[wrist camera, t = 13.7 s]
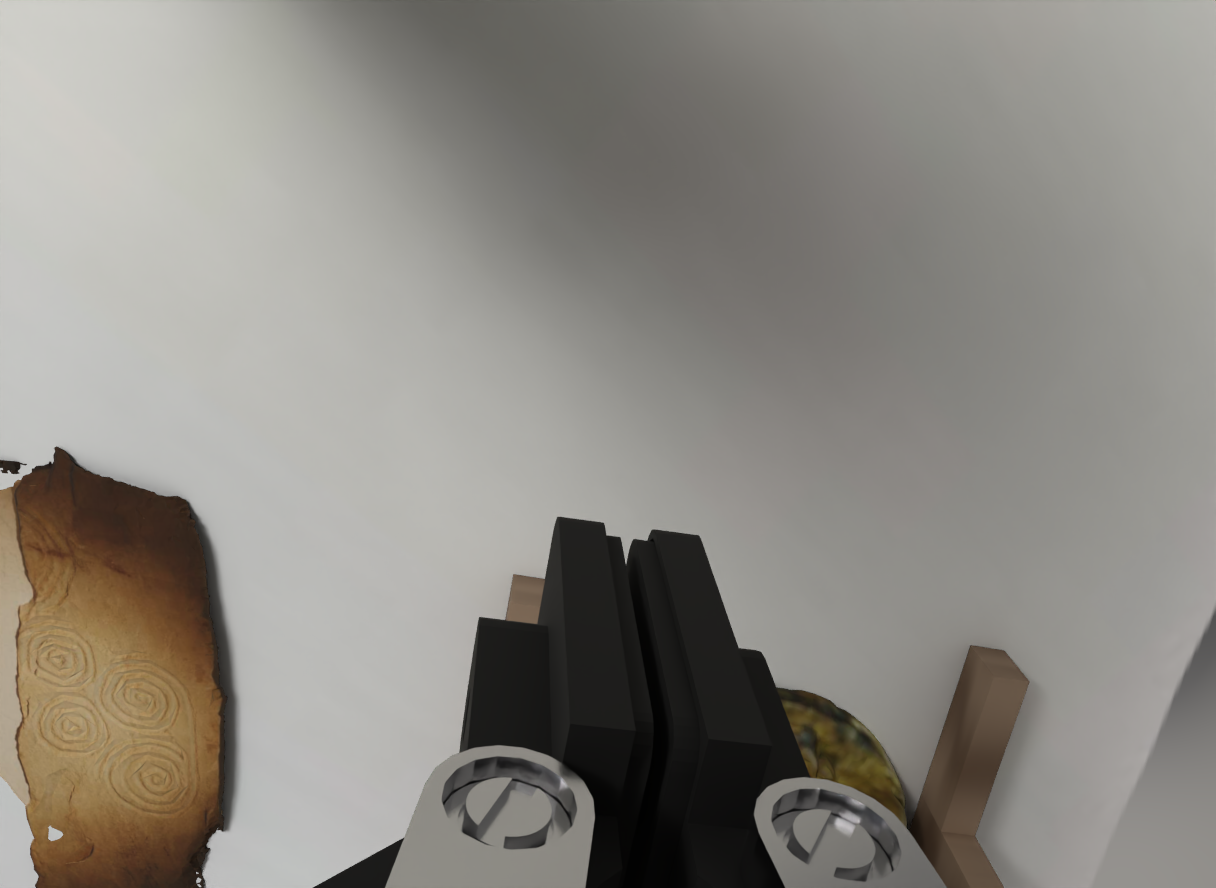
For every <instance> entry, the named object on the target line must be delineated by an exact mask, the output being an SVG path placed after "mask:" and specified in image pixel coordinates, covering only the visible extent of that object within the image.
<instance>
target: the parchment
mask: <svg viewBox="0 0 1216 888" xmlns="http://www.w3.org/2000/svg"><path fill="white" fill-rule="evenodd" d="M20 464H22V463H20V462H15V461H4V460H0V468H3V470H1V471H2V473H8V472H7V470H12V471H10V472H11V473H12V474H20V473H19V472H18V470H19V469H20ZM22 465H27V464H22ZM190 516H191V515H190V510H189V507H188V505H187V502H186V500H185V499H182V498H180V497H178V496H171V497H165V496H162V495H157V494H155V493H154V492H151V491H148V490H145V489H141V488H138V487H135V486H132V487H131V485H128V484H126V483H123V482H117V481H114V480H113V479H112V478H110V477H101V476H100V475H95V474H92V473H91V472H89V471H85V470H84V469H83V468H81V467H78V466H76V465H75V463H74V462H73V461H72V460H70V457H69V455H68V454H67V453H66V452H65V451H64V450H62V449H60V448H59V447H55V453H54V462H53V464H51V462H49V464H47V465H45V466H36V467H35V468H34V469H32V473H30V474H28V475H25V476H23V478H22V480H17V481H16V482H15V483H14V487H9V488H7V489H3V490H0V776H1V777H2V778H3V779H4V780H5V781H6V782H7V783H8V785H9V786H10V787H11V789H12V790H13V792H14V793H15V794H16V795H17V797H18V798H19V799H20V800H21V801H22V802H23V803H24V804H25V808H26V815H27V820H28V823H29V826H30V828H31V831H32V834H33V836H34V838H35V839H33V841H32V843H31V847H30V855H31V858H32V860H33V863H34V870H35V871H36V873H37V874H38V876H39V878H38V881H37V883H36V885H35V887H36V888H200V887H199V886H198V885H197V884H200V885H201V886H202V887H201V888H203V877H202V876H201V874H202V871H201V868H200V866H201V865H202V864H203V861H204V859H205V854H206V852H207V851H209V849H210V848H207V847H206V844H207V843H208V839H209V838H210V837H211V836H212V834H214V833H215V832H216V830H221V831H223V829H222V828H223V824H224V822H223V820H224V818H223V815H222V813H223V811H222V809H221V803H222V795H223V793H224V758H225V756H224V747H225V740H224V722H225V721H224V710H225V704H226V701H227V696H225V694H224V691H223V689H222V687H220V685H219V673H220V672H219V666H218V665H219V664H218V646H217V643H216V639H215V633H214V630H213V629H214V628H213V622H212V620H211V618H210V615H209V614H210V610H209V607H210V603H209V597H210V596H209V595H208V588H207V582H206V581H207V579H206V573H207V571H206V567H205V566H206V564H205V559H204V557H203V549H202V545H201V544H200V540H199V535H198V534H197V532H196V529H195V528H194V526H195V523H196V522H195V520H194V519H193V520H192V519H191V517H190ZM50 825H51V827H52V828H55V829H57V830H60V831H62V833H63V836H62V837H61V838H60V839H58V840H55V841H50V840H49V839H48V832H49V829H48V827H49V826H50ZM218 827H219V828H218ZM217 828H218V829H217ZM196 872H198V873H199V874H196ZM198 877H199V878H201V879H202V880H201V882H200V883H197V884H196V880H197V878H198Z"/></svg>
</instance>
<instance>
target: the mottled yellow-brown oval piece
mask: <svg viewBox="0 0 1216 888" xmlns="http://www.w3.org/2000/svg"><path fill="white" fill-rule="evenodd" d="M776 689H777V691H778V694H779V696H780V699H781V702H782V704H783V707H784V709H785V712H786V715H787V717H788V720H789V722H790V725H791V728H792V730H793V733H794V736H795V738H796V741H797V743H798V746H799V749H800V751H801V754H802V756H803V759H804V762H805V764H806V767H807V769H808V772H809V775H810V777H811V778H816V779H825V780H829V781H833V782H836V783H839V784H842V785H846V786H849V787H852V788H854V789H856V790H858V791H860V792H862V793H864V794H866V795H868V796H870V797H871V798H873V799H875V800H876V801H878V802H879V803H880V804H882V805H883V806H884V807H886V808H887V809H888V810H890V811H891V812H892V813H894V814H895V816H896V817H897V818H898V819H899V820H900V821H901V822H902V824H903V825H904V826H905V827H906V826H907V820H906V815H905V810H904V809H905V795H904V792H903V789H902V787H901V784H900V782H899V779H898V777H897V775H896V773H895V771H894V768H893V766H892V764H891V762H890V760H889V759H888V757H887V755H886V753H885V751H884V749H883V748H882V746H881V744H880V743H879V742H878V740H877V739H876V738H875V736H874V735H873V734H872V733H871V732H870V731H869V730H868V729H867V728H866V727H865V726H864V725H863V724H862V723H861V722H860V721H858V720H857V719H856V718H855V717H854V716H852V715H851V714H849V713H848V712H847V711H845V710H843V709H840V708H838V707H836V705H835V704H834V703H832V702H831V701H830V700H827V699H825V698H823V697H821V696H818V695H815V694H813V693H809V692H806V691H802V690H788V689H784V688H776Z"/></svg>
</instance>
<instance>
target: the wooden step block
mask: <svg viewBox="0 0 1216 888" xmlns="http://www.w3.org/2000/svg"><path fill="white" fill-rule="evenodd" d="M544 582H545V579H540V578H534V577H527V576H521V575H514V574H513V580H512V585H511V591H510V597H509V602H508V608H507V613H506V619H505V620H508V621H516V622H524V623H533V624H537V622H538V616H539V611H540V605H541V599H542V594H543V588H544ZM1028 685H1029V681H1028V679H1027V678H1026V677H1025V676H1024V674H1023V673H1022V672H1021V671H1020V669H1019V668H1018V667H1017V666H1016V665H1015V663H1014V662H1013V661H1012V660H1011V658H1010V657H1009V656H1008V655H1007V653H1006V652H1005V651H1003V650H997V649H990V648H984V647H978V646H970V649H969V652H968V655H967V658H966V661H965V664H964V667H963V670H962V673H961V676H960V679H959V682H958V685H957V688H956V691H955V694H954V697H953V700H952V703H951V706H950V709H949V712H948V715H947V718H946V721H945V724H944V727H943V730H942V733H941V736H940V739H939V742H938V745H937V748H936V751H935V754H934V757H933V760H932V763H931V766H930V769H929V772H928V775H927V778H926V781H925V784H924V788H923V791H922V794H921V797H920V800H919V803H918V806H917V809H916V812H915V815H914V818H913V821H912V824H911V827H910V830H909V832H910V833H911V835H912V836H913V838H914V839H915V841H916V842H917V844H918V845H919V847H920V848H921V850H922V851H923V853H924V854H925V856H926V857H927V859H928V860H929V862H930V863H931V864H932V866H933V867H934V869H935V870H936V872H937V873H938V875H939V876H940V878H941V879H942V881H943V882H944V884H945V885H946V887H947V888H1004V887H1003V885H1002V883H1001V882H1000V880H999V878H998V876H997V874H996V873H995V871H994V869H993V867H992V866H991V864H990V862H989V860H988V859H987V857H986V855H985V853H984V851H983V850H982V848H981V846H980V844H979V843H978V841H977V839H976V837H975V834H976V831H977V828H978V825H979V823H980V820H981V817H982V814H983V811H984V809H985V806H986V803H987V800H988V797H989V794H990V792H991V789H992V786H993V783H994V780H995V778H996V775H997V772H998V769H999V766H1000V763H1001V761H1002V758H1003V755H1004V752H1005V749H1006V747H1007V744H1008V741H1009V738H1010V735H1011V732H1012V730H1013V727H1014V724H1015V721H1016V718H1017V716H1018V713H1019V710H1020V707H1021V704H1022V701H1023V699H1024V696H1025V693H1026V690H1027V687H1028Z"/></svg>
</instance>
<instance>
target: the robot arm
mask: <svg viewBox="0 0 1216 888" xmlns="http://www.w3.org/2000/svg"><path fill="white" fill-rule="evenodd" d="M313 888H947V887H946V885H945V884H944V882H943V881H942V879H941V878H940V876H939V875H938V873H937V872H936V870H935V869H934V867H933V866H932V864H931V863H930V862H929V860H928V859H927V857H926V856H925V854H924V853H923V851H922V850H921V848H920V847H919V845H918V844H917V842H916V841H915V839H914V838H913V836H912V835H911V833H910V832H909V831H908V829H907V828H906V827H905V826H904V825H903V824H902V822H901V821H900V820H899V819H898V818H897V817H896V816H895V814H894V813H892V812H891V811H890V810H888V809H887V808H886V807H884V806H883V805H882V804H880V803H879V802H878V801H876V800H875V799H873V798H871V797H870V796H868V795H866V794H864V793H862V792H860V791H858V790H856V789H854V788H852V787H849V786H846V785H842V784H839V783H836V782H833V781H829V780H825V779H816V778H811V777H810V775H809V772H808V769H807V767H806V764H805V762H804V759H803V756H802V754H801V751H800V749H799V746H798V743H797V741H796V738H795V736H794V733H793V730H792V728H791V725H790V722H789V720H788V717H787V715H786V712H785V709H784V707H783V704H782V702H781V699H780V696H779V694H778V691H777V689H776V686H775V683H774V681H773V678H772V675H771V673H770V670H769V668H768V665H767V662H766V660H765V658H764V656H763V655H762V653H761V652H759V651H756V650H749V649H741V648H738V645H737V642H736V639H735V637H734V634H733V631H732V628H731V625H730V622H729V619H728V616H727V613H726V610H725V608H724V605H723V602H722V599H721V596H720V593H719V590H718V587H717V584H716V581H715V579H714V576H713V573H712V570H711V567H710V564H709V561H708V558H707V555H706V553H705V550H704V547H703V544H702V541H701V538H700V537H699V535H691V534H684V533H676V532H669V531H661V530H652V531H651V533H650V535H649V538H648V540H647V541H644V540H637V539H633V541H632V543H631V546H630V550H629V554H628V559H627V564H625V558H624V553H623V547H622V542H621V538H620V537H614V536H606V530H605V525H604V523H601V522H594V521H586V520H579V519H571V518H564V517H557V519H556V523H555V527H554V532H553V537H552V542H551V548H550V554H549V560H548V565H547V571H546V577H545V582H544V588H543V594H542V599H541V605H540V611H539V616H538V622H537V624H533V623H524V622H516V621H508V620H500V619H491V618H483V617H479V621H478V626H477V632H476V638H475V645H474V651H473V658H472V664H471V671H470V677H469V684H468V691H467V698H466V705H465V712H464V720H463V727H462V735H461V743H460V752H459V753H458V754H455V755H452V756H451V757H450V758H448V759H447V760H445V761H444V762H443V763H441V764H440V765H438V766H437V767H436V768H435V769H434V771H433V772H432V774H431V775H430V777H429V778H428V780H427V781H426V783H425V785H424V788H423V791H422V793H421V796H420V798H419V801H418V804H417V806H416V809H415V811H414V814H413V817H412V819H411V822H410V824H409V827H408V829H407V832H406V835H405V837H404V838H403V839H401V840H399V841H397V842H395V843H394V844H392V845H390V846H388V847H386V848H384V849H383V850H381V851H379V852H377V853H375V854H373V855H372V856H370V857H368V858H366V859H364V860H363V861H361V862H359V863H357V864H355V865H353V866H352V867H350V868H348V869H346V870H344V871H342V872H341V873H339V874H337V875H335V876H333V877H332V878H330V879H328V880H326V881H324V882H322V883H321V884H319V885H317V886H315V887H313Z"/></svg>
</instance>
